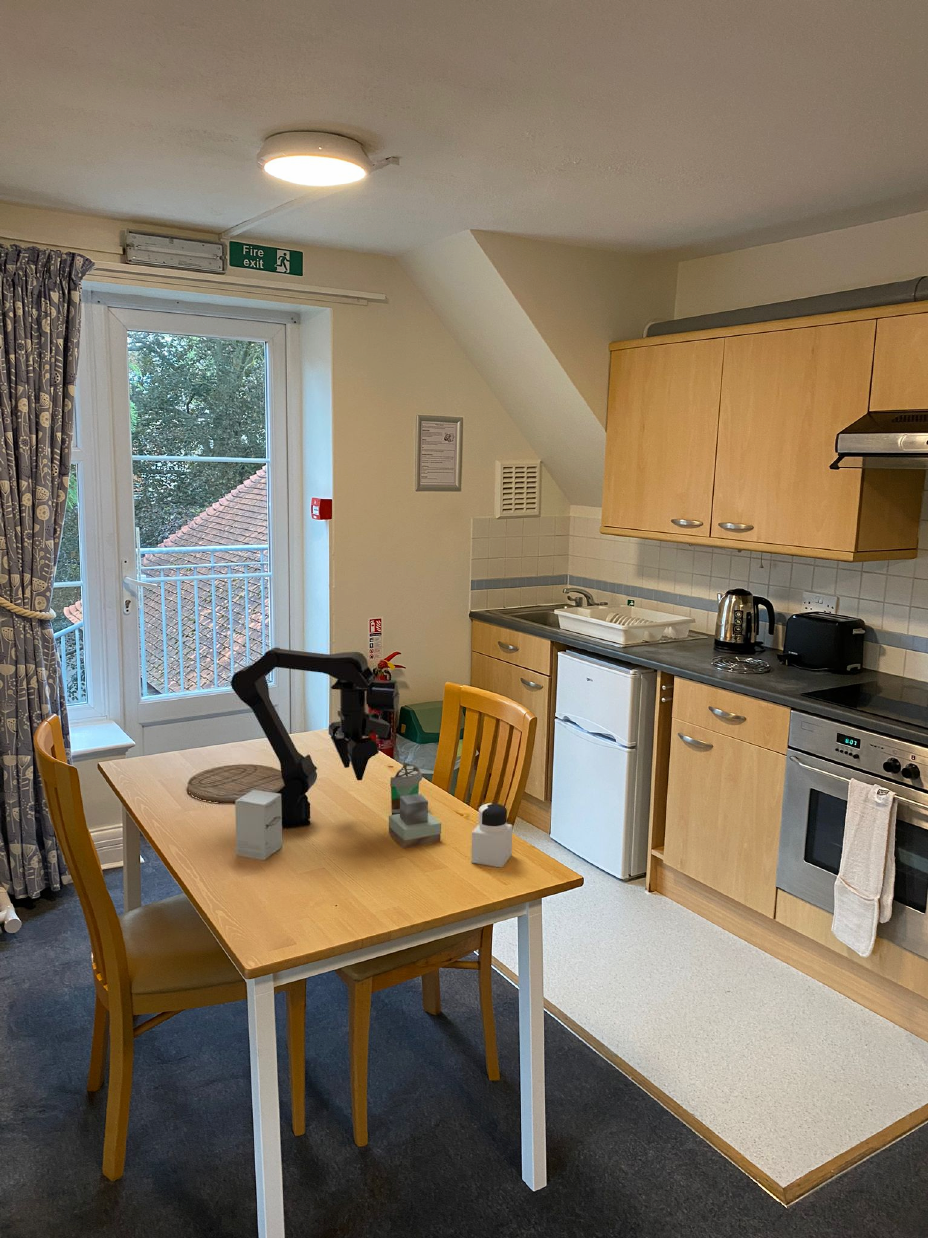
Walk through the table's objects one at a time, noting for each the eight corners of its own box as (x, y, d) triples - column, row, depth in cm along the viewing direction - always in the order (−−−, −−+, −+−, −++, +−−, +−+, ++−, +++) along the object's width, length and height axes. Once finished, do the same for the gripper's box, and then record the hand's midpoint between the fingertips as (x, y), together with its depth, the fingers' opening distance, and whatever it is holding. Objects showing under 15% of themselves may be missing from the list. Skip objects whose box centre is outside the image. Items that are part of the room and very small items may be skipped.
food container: (414, 820, 222) (415, 780, 220) (389, 818, 223) (390, 778, 221) (427, 801, 234) (427, 763, 232) (403, 799, 235) (403, 761, 233)
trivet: (306, 783, 246) (306, 776, 246) (236, 813, 226) (236, 805, 225) (238, 764, 259) (238, 758, 259) (166, 791, 239) (166, 784, 238)
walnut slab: (403, 851, 207) (403, 840, 206) (388, 835, 215) (388, 825, 214) (440, 844, 210) (440, 834, 210) (424, 829, 218) (424, 819, 218)
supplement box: (265, 861, 199) (263, 805, 196) (235, 855, 201) (233, 800, 199) (283, 848, 205) (282, 793, 203) (254, 842, 208) (253, 788, 206)
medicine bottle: (512, 855, 204) (513, 803, 202) (502, 868, 197) (504, 814, 195) (481, 850, 206) (482, 798, 204) (470, 863, 200) (471, 810, 197)
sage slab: (404, 840, 206) (404, 829, 206) (388, 826, 214) (388, 815, 213) (441, 833, 210) (441, 823, 210) (424, 819, 218) (424, 809, 218)
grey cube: (406, 825, 208) (406, 804, 207) (399, 817, 213) (400, 796, 212) (427, 822, 210) (428, 801, 209) (420, 814, 214) (420, 793, 214)
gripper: (400, 715, 207) (400, 782, 210) (372, 695, 224) (372, 757, 227) (353, 720, 203) (353, 789, 205) (327, 699, 219) (328, 763, 222)
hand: (353, 773), depth 215 cm, fingers open, 9 cm apart
